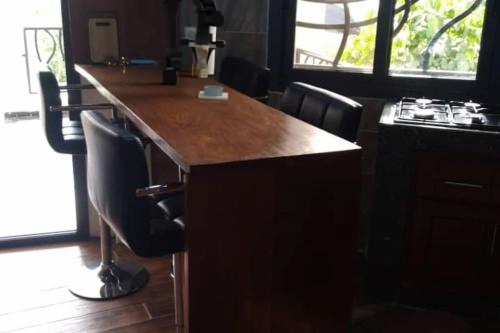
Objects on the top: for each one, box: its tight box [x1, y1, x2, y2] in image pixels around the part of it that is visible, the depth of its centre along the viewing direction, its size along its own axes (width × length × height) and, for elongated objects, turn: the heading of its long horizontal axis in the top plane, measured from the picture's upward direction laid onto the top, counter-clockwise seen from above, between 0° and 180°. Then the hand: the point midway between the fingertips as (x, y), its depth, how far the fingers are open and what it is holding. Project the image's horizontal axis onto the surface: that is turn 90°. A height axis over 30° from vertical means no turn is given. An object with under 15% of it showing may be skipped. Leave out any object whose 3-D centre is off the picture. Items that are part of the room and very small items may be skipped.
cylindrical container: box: [201, 26, 217, 75], centre depth 291 cm, size 7×7×25 cm
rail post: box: [197, 49, 207, 69], centre depth 232 cm, size 4×4×8 cm
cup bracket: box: [197, 85, 229, 101], centre depth 231 cm, size 12×12×4 cm
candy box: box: [191, 45, 209, 79], centre depth 279 cm, size 9×4×15 cm, turn 39°
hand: (201, 63), depth 233 cm, fingers closed on rail post, 4 cm apart
